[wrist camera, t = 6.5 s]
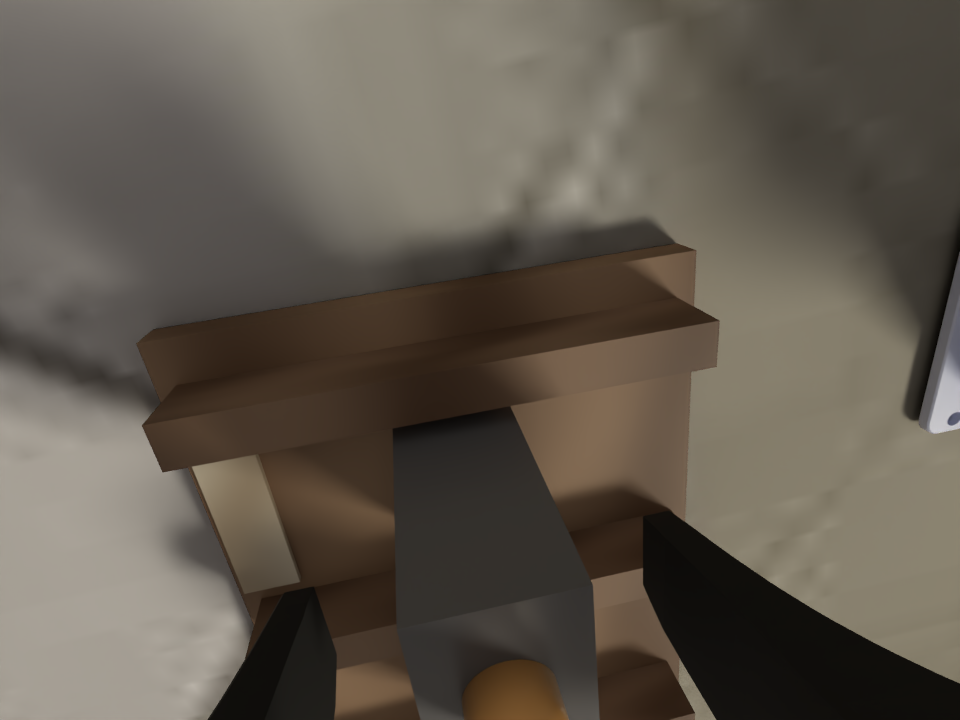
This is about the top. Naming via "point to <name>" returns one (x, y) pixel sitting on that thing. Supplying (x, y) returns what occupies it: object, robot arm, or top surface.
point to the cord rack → (433, 396)
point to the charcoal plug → (488, 578)
